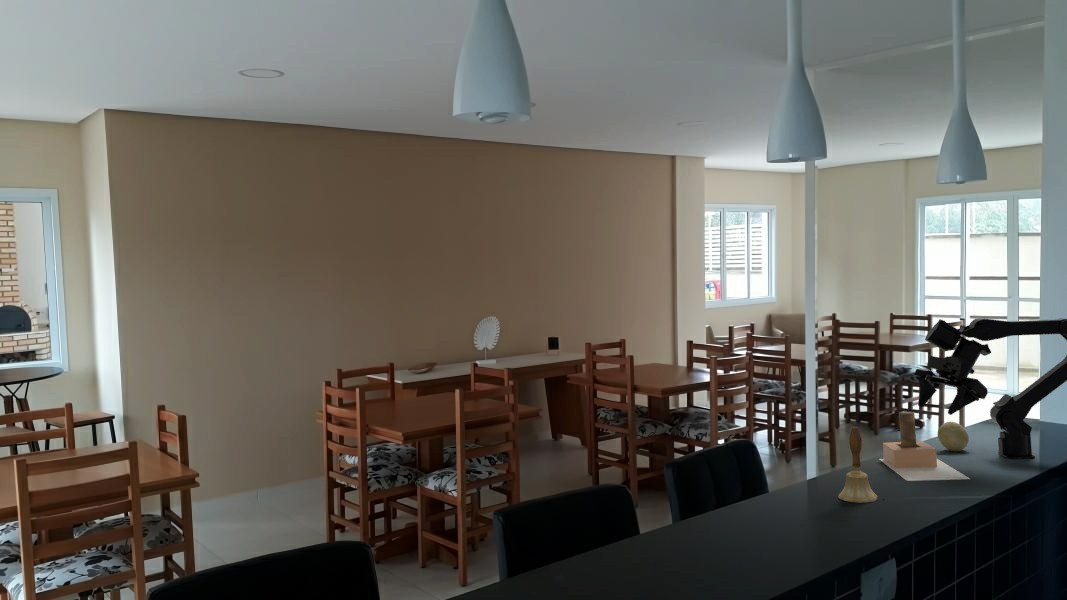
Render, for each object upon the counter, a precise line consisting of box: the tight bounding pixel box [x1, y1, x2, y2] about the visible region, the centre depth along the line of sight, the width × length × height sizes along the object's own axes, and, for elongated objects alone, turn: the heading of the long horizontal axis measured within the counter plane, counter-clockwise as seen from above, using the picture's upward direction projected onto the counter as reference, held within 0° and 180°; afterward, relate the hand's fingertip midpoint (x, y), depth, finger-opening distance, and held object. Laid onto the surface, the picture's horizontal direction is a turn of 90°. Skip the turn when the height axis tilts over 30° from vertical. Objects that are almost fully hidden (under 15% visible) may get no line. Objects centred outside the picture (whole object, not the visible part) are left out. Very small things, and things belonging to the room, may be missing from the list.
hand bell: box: [838, 426, 879, 504], centre depth 178 cm, size 8×8×16 cm
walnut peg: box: [898, 411, 917, 448], centre depth 205 cm, size 4×4×13 cm
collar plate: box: [878, 440, 971, 482], centre depth 199 cm, size 14×24×5 cm, turn 171°
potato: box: [937, 421, 970, 452], centre depth 217 cm, size 8×8×8 cm
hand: (934, 410), depth 207 cm, fingers open, 9 cm apart
